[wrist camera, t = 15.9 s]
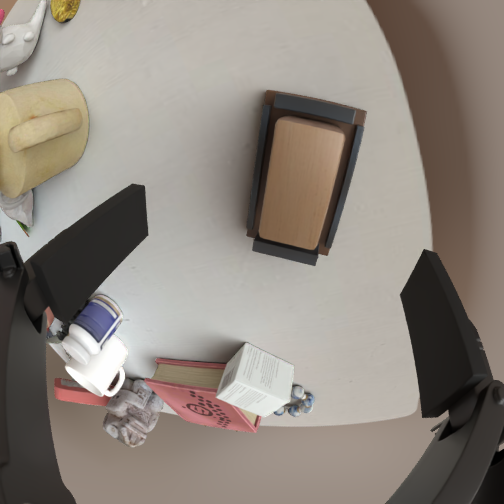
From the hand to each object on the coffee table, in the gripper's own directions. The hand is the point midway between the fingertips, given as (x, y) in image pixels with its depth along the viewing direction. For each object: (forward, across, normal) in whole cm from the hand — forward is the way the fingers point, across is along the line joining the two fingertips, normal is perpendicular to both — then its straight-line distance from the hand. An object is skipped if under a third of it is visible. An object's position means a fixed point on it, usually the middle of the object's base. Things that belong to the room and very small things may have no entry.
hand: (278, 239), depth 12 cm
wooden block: (+7, 0, -4) cm, 8 cm away
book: (+10, -6, -37) cm, 39 cm away
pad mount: (+10, 0, 0) cm, 10 cm away
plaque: (+6, -42, -61) cm, 75 cm away
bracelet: (+10, +6, -33) cm, 35 cm away
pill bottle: (+11, -23, -24) cm, 35 cm away
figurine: (+10, -22, -51) cm, 56 cm away
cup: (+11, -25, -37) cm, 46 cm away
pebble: (+11, -37, -8) cm, 40 cm away
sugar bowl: (+11, -24, +4) cm, 27 cm away
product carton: (+7, -3, -24) cm, 25 cm away
